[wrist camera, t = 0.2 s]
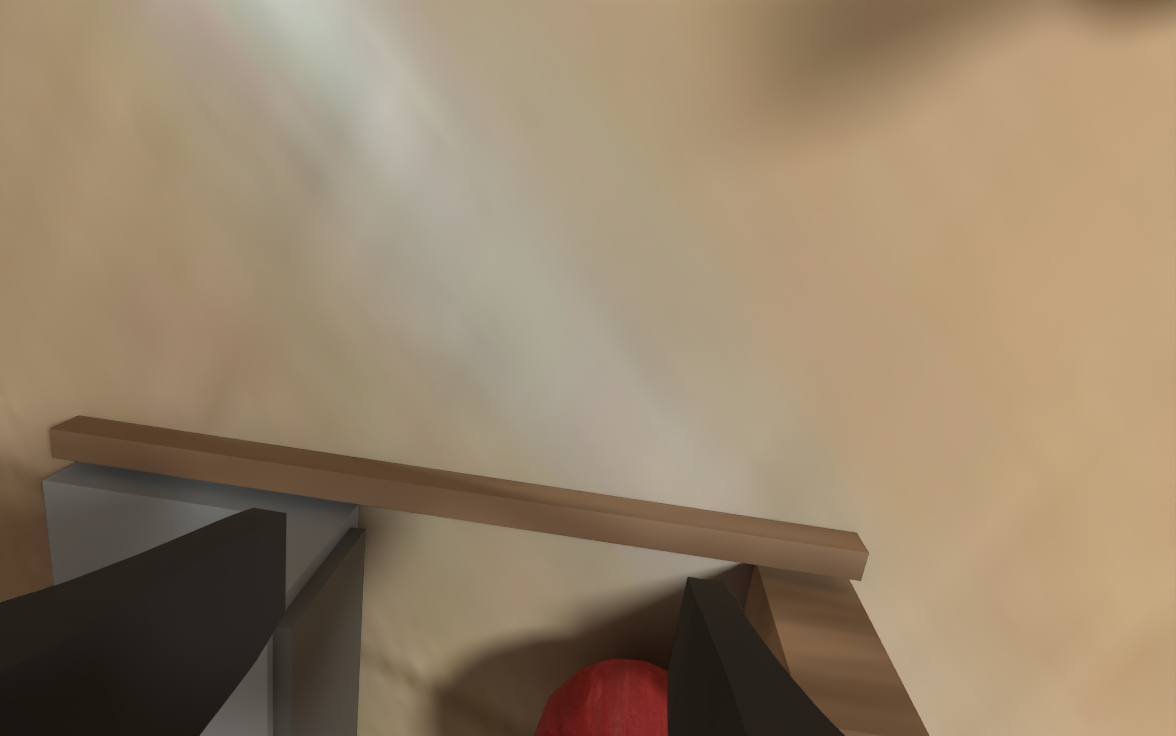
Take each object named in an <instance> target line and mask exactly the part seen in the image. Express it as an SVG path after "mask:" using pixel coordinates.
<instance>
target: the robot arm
mask: <svg viewBox="0 0 1176 736" xmlns="http://www.w3.org/2000/svg"><path fill="white" fill-rule="evenodd" d="M286 522H287V513H284V512H278V511H271V510H265V509H259V508H251V509H248V510H245V511H242V512H239V513H236V514H233V515H231V516H228V517H226V518H223V519H221V520H218V521H216V522H214V523H211V524H209V525H206V526H204V527H202V528H199V529H197V530H195V531H192V532H190V533H188V534H185V535H183V536H180V537H178V538H176V539H173V540H171V541H169V542H166V543H164V544H161V545H159V546H157V547H154V548H152V549H149V550H147V551H145V552H142V553H140V554H137V555H135V556H132V557H130V558H127V559H124V560H122V561H119V562H116V563H114V564H111V565H109V566H106V567H103V568H101V569H98V570H96V571H93V572H90V573H88V574H85V575H83V576H80V577H77V578H75V579H72V580H69V581H66V582H63V583H60V584H58V585H55V586H52V587H49V588H46V589H43V590H40V591H36V592H33V593H30V594H27V595H23V596H20V597H17V598H14V599H10V600H7V601H4V602H1V603H0V736H200V734H201V733H202V732H203V731H204V729H205V728H206V727H207V725H208V724H209V723H210V722H211V720H212V719H213V718H214V716H215V715H216V714H217V712H218V711H219V710H220V709H221V707H222V706H223V705H224V703H225V702H226V701H227V699H228V698H229V697H230V695H231V694H232V693H233V692H234V690H235V689H236V688H237V686H238V685H239V684H240V682H241V681H242V680H243V678H244V677H245V676H246V674H247V673H248V672H249V670H250V669H251V668H252V666H253V665H254V664H255V662H256V661H257V659H258V657H259V656H260V654H261V652H262V651H263V649H264V647H265V646H266V644H267V642H268V641H269V639H270V637H271V636H272V634H273V632H274V630H275V628H276V627H277V625H278V623H279V621H280V619H281V618H282V616H283V614H284V612H285V602H286ZM667 727H668V736H845V735H844V734H843V733H842V732H841V731H840V730H839V729H838V728H837V727H836V726H835V725H834V724H833V723H832V722H831V721H830V720H829V719H828V718H827V717H826V716H825V715H824V714H823V712H822V711H821V710H820V709H819V708H818V707H817V706H816V705H815V704H814V703H813V701H812V700H811V699H810V698H809V697H808V696H807V694H806V693H805V692H804V691H803V690H802V689H801V688H800V686H799V685H798V684H797V683H796V682H795V681H794V679H793V678H792V677H791V676H790V675H789V673H788V672H787V671H786V670H785V668H784V667H783V666H782V665H781V663H780V662H779V661H778V660H777V658H776V657H775V656H774V654H773V653H772V652H771V650H770V649H769V648H768V646H767V645H766V644H765V642H764V641H763V640H762V638H761V637H760V635H759V634H758V633H757V631H756V630H755V628H754V627H753V626H752V624H751V623H750V621H749V620H748V619H747V617H746V616H745V614H744V613H743V611H742V610H741V608H740V607H739V606H738V604H737V603H736V601H735V600H734V598H733V597H732V595H731V594H730V593H729V591H728V590H727V588H726V587H725V586H724V584H723V583H722V582H717V581H711V580H704V579H698V578H692V577H688V578H687V583H686V587H685V592H684V597H683V602H682V606H681V611H680V616H679V621H678V625H677V630H676V635H675V640H674V645H673V649H672V654H671V659H670V664H669V668H668V685H667Z"/></svg>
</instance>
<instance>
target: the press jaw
mask: <svg viewBox="0 0 1176 736" xmlns="http://www.w3.org/2000/svg"><path fill="white" fill-rule="evenodd" d="M42 485H43V494H44V503H45V512H46V521H47V529H48V538H49V547H50V556H51V565H52V574H53V583H54V586H55V585H58V584H60V583H63V582H66V581H69V580H72V579H75V578H77V577H80V576H83V575H85V574H88V573H90V572H93V571H96V570H98V569H101V568H103V567H106V566H109V565H111V564H114V563H116V562H119V561H122V560H124V559H127V558H130V557H132V556H135V555H137V554H140V553H142V552H145V551H147V550H149V549H152V548H154V547H157V546H159V545H161V544H164V543H166V542H169V541H171V540H173V539H176V538H178V537H180V536H183V535H185V534H188V533H190V532H192V531H195V530H197V529H199V528H202V527H204V526H206V525H209V524H211V523H214V522H216V521H218V520H221V519H223V518H226V517H228V516H231V515H233V514H236V513H239V512H242V511H245V510H248V509H251V508H259V509H265V510H271V511H278V512H284V513H287V522H286V602H285V612H284V614H283V616H282V618H281V619H280V621H279V623H278V625H277V627H276V628H275V630H274V632H273V634H272V636H271V637H270V639H269V641H268V642H267V644H266V646H265V647H264V649H263V651H262V652H261V654H260V656H259V657H258V659H257V661H256V662H255V664H254V665H253V666H252V668H251V669H250V670H249V672H248V673H247V674H246V676H245V677H244V678H243V680H242V681H241V682H240V684H239V685H238V686H237V688H236V689H235V690H234V692H233V693H232V694H231V695H230V697H229V698H228V699H227V701H226V702H225V703H224V705H223V706H222V707H221V709H220V710H219V711H218V712H217V714H216V715H215V716H214V718H213V719H212V720H211V722H210V723H209V724H208V725H207V727H206V728H205V729H204V731H203V732H202V733H201V734H200V736H357V718H358V694H359V670H360V646H361V622H362V598H363V574H364V550H365V529H358V518H359V504H354V503H347V502H340V501H334V500H327V499H321V498H314V497H308V496H301V495H295V494H288V493H281V492H275V491H268V490H262V489H255V488H249V487H242V486H236V485H229V484H222V483H216V482H209V481H203V480H196V479H190V478H183V477H177V476H170V475H163V474H157V473H150V472H144V471H137V470H131V469H124V468H118V467H111V466H104V465H98V464H91V463H85V462H78V461H77V462H75V463H73V464H72V465H70V466H68V467H66V468H64V469H62V470H60V471H58V472H57V473H55V474H53V475H51V476H49V477H47V478H45V479H44V480H42Z"/></svg>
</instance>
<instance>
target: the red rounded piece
mask: <svg viewBox="0 0 1176 736" xmlns="http://www.w3.org/2000/svg"><path fill="white" fill-rule="evenodd" d="M667 685H668V670H666V669H663V668H661V667H658V666H656V665H653V664H651V663H648V662H646V661H642V660H628V659H615V658H613V659H609V660H606V661H602V662H598V663H594V664H591V665H587V666H584V667H583V668H581V669H580V670H579V671H578V672H577V673H575V674H574V675H573V676H572V677H571V678H569V679H568V680H567V681H566V682H565V683H564V684H562V685H561V686H560V687H559V688H558V689H557V690H556V691H555V692H554V693H553V694H552V695H551V696H550V697H549V698H548V701H547V703H546V706H545V709H544V711H543V714H542V717H541V719H540V722H539V725H538V727H537V730H536V733H535V735H534V736H668V727H667Z"/></svg>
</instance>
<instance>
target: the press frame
mask: <svg viewBox="0 0 1176 736" xmlns="http://www.w3.org/2000/svg"><path fill="white" fill-rule="evenodd" d="M50 436H51V445H52V455H53V458H59V459H65V460H72V461H78V462H85V463H91V464H98V465H104V466H111V467H118V468H124V469H131V470H137V471H144V472H150V473H157V474H163V475H170V476H177V477H183V478H190V479H196V480H203V481H209V482H216V483H222V484H229V485H236V486H242V487H249V488H255V489H262V490H268V491H275V492H281V493H288V494H295V495H301V496H308V497H314V498H321V499H327V500H334V501H340V502H347V503H354V504H360V505H367V506H373V507H380V508H386V509H393V510H399V511H406V512H412V513H419V514H426V515H432V516H439V517H445V518H452V519H458V520H465V521H471V522H478V523H485V524H491V525H498V526H504V527H511V528H517V529H524V530H530V531H537V532H544V533H550V534H557V535H563V536H570V537H576V538H583V539H589V540H596V541H603V542H609V543H616V544H622V545H629V546H635V547H642V548H648V549H655V550H662V551H668V552H675V553H681V554H688V555H694V556H701V557H707V558H714V559H721V560H727V561H734V562H740V563H747V564H753V565H754V568H753V572H752V577H751V581H750V585H749V589H748V594H747V598H746V602H745V607H744V611H743V613H744V614H745V616H746V617H747V619H748V620H749V621H750V623H751V624H752V626H753V627H754V628H755V630H756V631H757V633H758V634H759V635H760V637H761V638H762V640H763V641H764V642H765V644H766V645H767V646H768V648H769V649H770V650H771V652H772V653H773V654H774V656H775V657H776V658H777V660H778V661H779V662H780V663H781V665H782V666H783V667H784V668H785V670H786V671H787V672H788V673H789V675H790V676H791V677H792V678H793V679H794V681H795V682H796V683H797V684H798V685H799V686H800V688H801V689H802V690H803V691H804V692H805V693H806V694H807V696H808V697H809V698H810V699H811V700H812V701H813V703H814V704H815V705H816V706H817V707H818V708H819V709H820V710H821V711H822V712H823V714H824V715H825V716H826V717H827V718H828V719H829V720H830V721H831V722H832V723H833V724H834V725H835V726H836V727H837V728H838V729H839V730H840V731H841V732H842V733H843V734H844V735H845V736H929V734H928V732H927V730H926V728H925V726H924V724H923V722H922V720H921V718H920V717H919V715H918V713H917V711H916V709H915V707H914V705H913V703H912V701H911V699H910V697H909V695H908V693H907V691H906V689H905V687H904V685H903V683H902V681H901V679H900V677H899V676H898V674H897V672H896V670H895V668H894V666H893V664H892V662H891V660H890V658H889V656H888V654H887V652H886V650H885V648H884V646H883V644H882V642H881V640H880V638H879V636H878V635H877V633H876V631H875V629H874V627H873V625H872V623H871V621H870V619H869V617H868V615H867V613H866V611H865V609H864V607H863V605H862V603H861V601H860V599H859V597H858V595H857V594H856V592H855V590H854V588H853V586H852V584H851V582H850V580H849V579H852V580H858V581H861V579H862V576H863V572H864V569H865V565H866V562H867V558H868V555H869V552H868V551H867V549H866V547H865V546H864V544H863V542H862V541H861V539H860V537H859V536H858V534H857V533H854V532H847V531H840V530H834V529H827V528H821V527H814V526H807V525H801V524H794V523H787V522H781V521H774V520H768V519H761V518H754V517H748V516H741V515H734V514H728V513H721V512H714V511H708V510H701V509H695V508H688V507H681V506H675V505H668V504H661V503H655V502H648V501H642V500H635V499H628V498H622V497H615V496H608V495H602V494H595V493H589V492H582V491H575V490H569V489H562V488H555V487H549V486H542V485H536V484H529V483H522V482H516V481H509V480H502V479H496V478H489V477H482V476H476V475H469V474H463V473H456V472H449V471H443V470H436V469H429V468H423V467H416V466H410V465H403V464H396V463H390V462H383V461H376V460H370V459H363V458H357V457H350V456H343V455H337V454H330V453H323V452H317V451H310V450H304V449H297V448H290V447H284V446H277V445H270V444H264V443H257V442H250V441H244V440H237V439H231V438H224V437H217V436H211V435H204V434H197V433H191V432H184V431H178V430H171V429H164V428H158V427H151V426H144V425H138V424H131V423H125V422H118V421H111V420H105V419H98V418H91V417H85V416H77V417H75V418H73V419H71V420H68V421H66V422H64V423H62V424H60V425H57V426H55V427H53V428H51V429H50Z"/></svg>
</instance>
